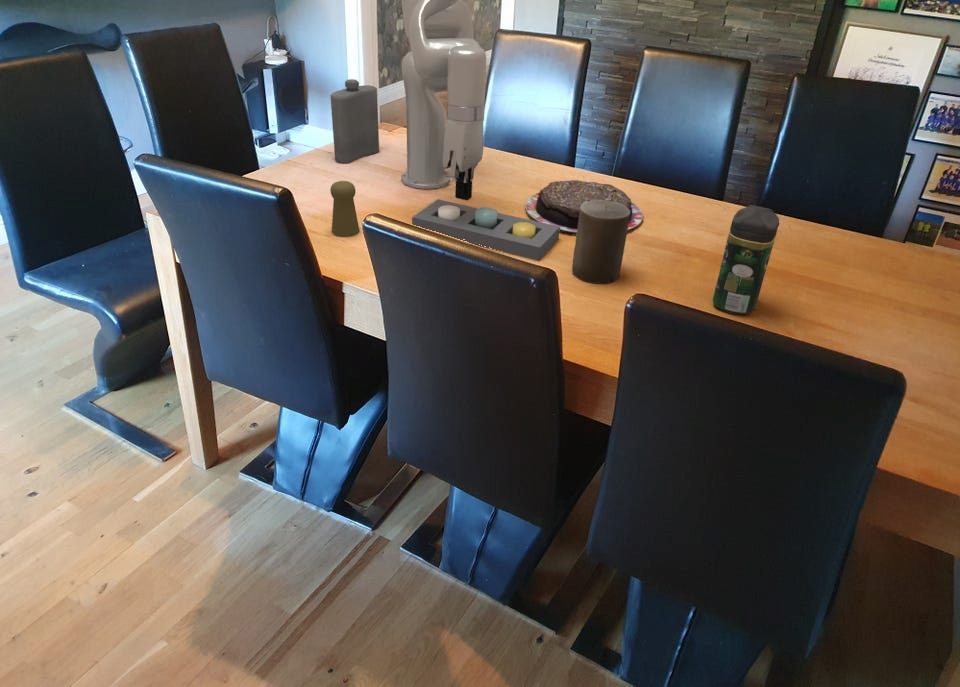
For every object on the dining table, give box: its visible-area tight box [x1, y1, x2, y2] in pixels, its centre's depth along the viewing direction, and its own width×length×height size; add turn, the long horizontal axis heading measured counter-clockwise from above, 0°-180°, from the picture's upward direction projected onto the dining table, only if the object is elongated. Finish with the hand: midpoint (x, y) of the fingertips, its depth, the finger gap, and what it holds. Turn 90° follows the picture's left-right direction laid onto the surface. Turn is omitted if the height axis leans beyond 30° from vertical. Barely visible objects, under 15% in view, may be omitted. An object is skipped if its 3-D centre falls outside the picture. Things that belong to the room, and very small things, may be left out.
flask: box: [329, 78, 380, 165], centre depth 191 cm, size 15×6×20 cm, turn 144°
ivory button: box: [438, 205, 460, 221], centre depth 158 cm, size 5×5×3 cm
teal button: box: [475, 206, 498, 230], centre depth 155 cm, size 5×5×3 cm
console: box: [411, 198, 561, 261], centre depth 156 cm, size 12×30×3 cm, turn 65°
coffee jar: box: [712, 204, 781, 315], centre depth 130 cm, size 10×8×19 cm
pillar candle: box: [571, 200, 630, 284], centre depth 140 cm, size 10×10×15 cm
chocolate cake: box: [524, 179, 644, 236], centre depth 168 cm, size 28×28×7 cm
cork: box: [329, 180, 361, 238], centre depth 152 cm, size 6×6×11 cm
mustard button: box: [512, 222, 536, 239], centre depth 152 cm, size 5×5×3 cm
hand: (463, 198), depth 154 cm, fingers closed
